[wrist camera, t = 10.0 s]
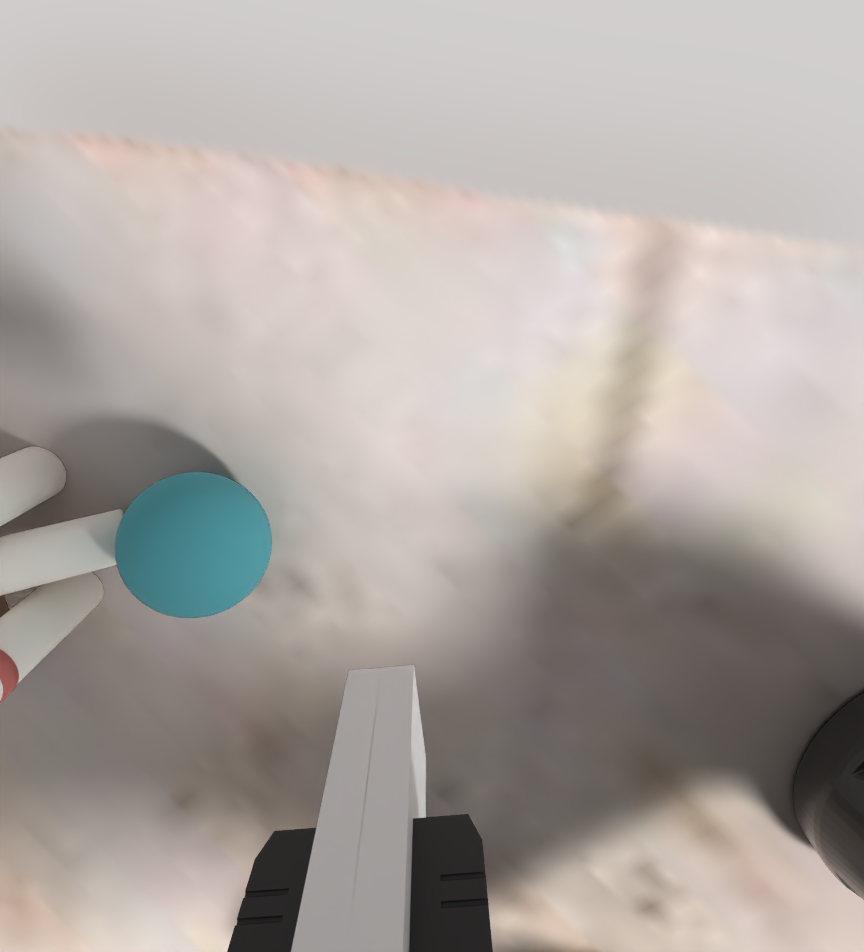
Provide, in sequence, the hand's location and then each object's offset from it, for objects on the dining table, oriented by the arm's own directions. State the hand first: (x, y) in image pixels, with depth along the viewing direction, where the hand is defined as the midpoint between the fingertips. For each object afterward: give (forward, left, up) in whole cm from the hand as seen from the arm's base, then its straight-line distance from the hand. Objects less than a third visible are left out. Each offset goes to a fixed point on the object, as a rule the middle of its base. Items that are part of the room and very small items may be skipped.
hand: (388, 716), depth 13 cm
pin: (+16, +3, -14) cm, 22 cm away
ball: (+9, 0, -11) cm, 14 cm away
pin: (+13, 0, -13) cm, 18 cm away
